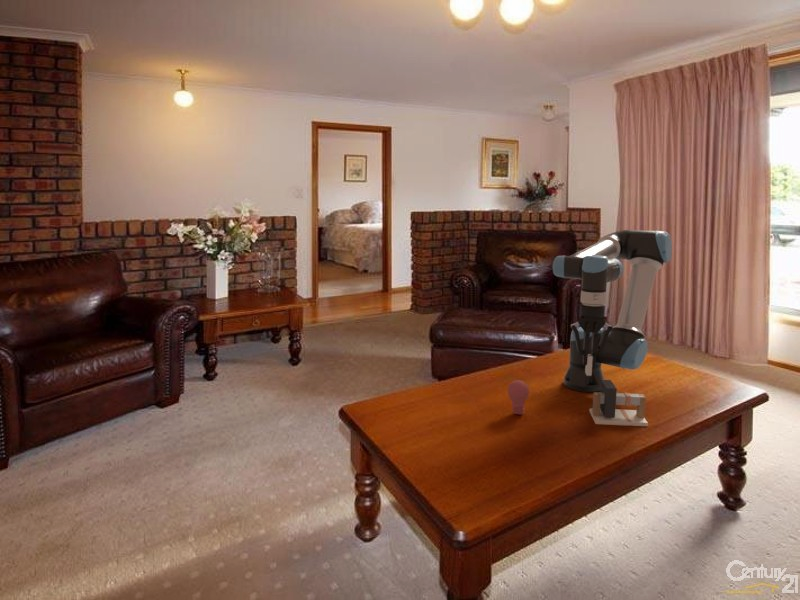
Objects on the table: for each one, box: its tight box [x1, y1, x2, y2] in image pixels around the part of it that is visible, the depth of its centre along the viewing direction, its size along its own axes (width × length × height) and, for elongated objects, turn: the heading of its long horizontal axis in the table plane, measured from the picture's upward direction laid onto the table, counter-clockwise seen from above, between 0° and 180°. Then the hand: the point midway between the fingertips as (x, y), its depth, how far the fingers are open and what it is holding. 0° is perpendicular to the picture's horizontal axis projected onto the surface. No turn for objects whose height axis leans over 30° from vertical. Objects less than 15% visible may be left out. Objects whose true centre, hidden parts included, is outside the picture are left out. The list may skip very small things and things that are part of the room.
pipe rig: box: [589, 391, 649, 427], centre depth 174 cm, size 16×10×9 cm, turn 82°
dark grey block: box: [600, 379, 618, 418], centre depth 174 cm, size 3×8×10 cm, turn 172°
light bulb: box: [507, 379, 530, 415], centre depth 179 cm, size 7×7×12 cm
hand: (588, 374), depth 173 cm, fingers closed
